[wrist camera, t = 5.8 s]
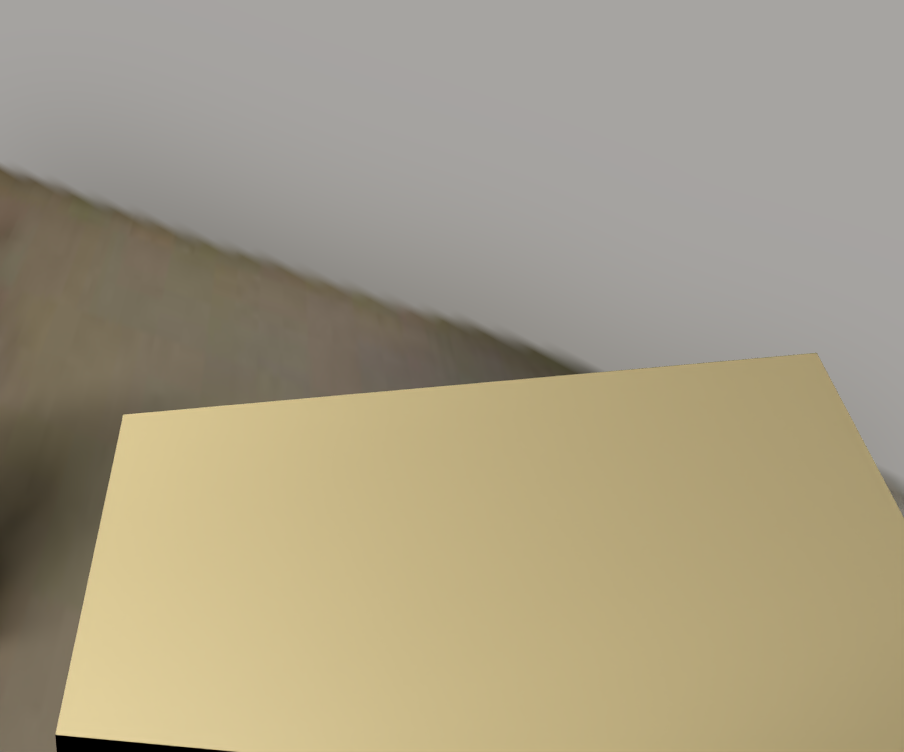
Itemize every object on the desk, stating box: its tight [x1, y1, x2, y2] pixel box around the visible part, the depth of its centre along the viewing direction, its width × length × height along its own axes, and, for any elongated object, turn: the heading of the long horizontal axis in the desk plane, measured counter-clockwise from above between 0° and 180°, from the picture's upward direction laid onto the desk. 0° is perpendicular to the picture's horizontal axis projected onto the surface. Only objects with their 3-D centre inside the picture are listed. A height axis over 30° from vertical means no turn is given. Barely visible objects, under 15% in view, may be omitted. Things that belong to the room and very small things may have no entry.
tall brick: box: [56, 353, 904, 752], centre depth 7 cm, size 4×4×12 cm
